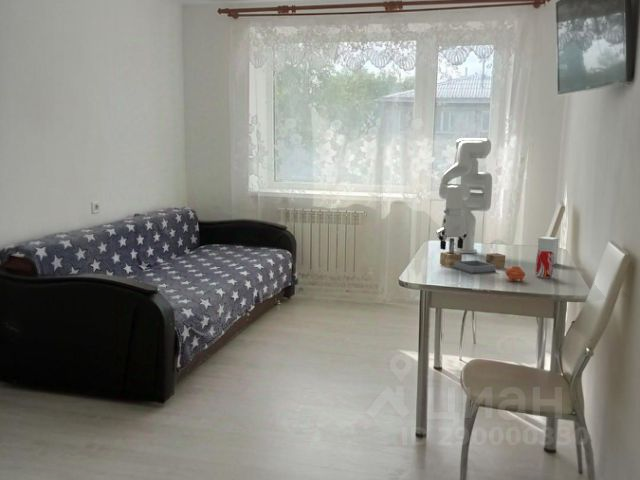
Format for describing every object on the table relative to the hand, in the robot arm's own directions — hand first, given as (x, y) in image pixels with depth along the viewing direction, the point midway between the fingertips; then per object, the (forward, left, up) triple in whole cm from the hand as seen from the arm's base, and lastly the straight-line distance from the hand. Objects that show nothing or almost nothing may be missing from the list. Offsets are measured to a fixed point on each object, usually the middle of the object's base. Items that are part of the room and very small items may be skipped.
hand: (451, 248), depth 276 cm
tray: (+12, +4, -8) cm, 15 cm away
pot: (+36, +6, -8) cm, 37 cm away
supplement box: (+11, +49, -8) cm, 51 cm away
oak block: (0, 0, -8) cm, 8 cm away
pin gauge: (0, 0, -7) cm, 7 cm away
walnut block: (+10, +18, -8) cm, 22 cm away
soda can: (+34, +24, -8) cm, 42 cm away
